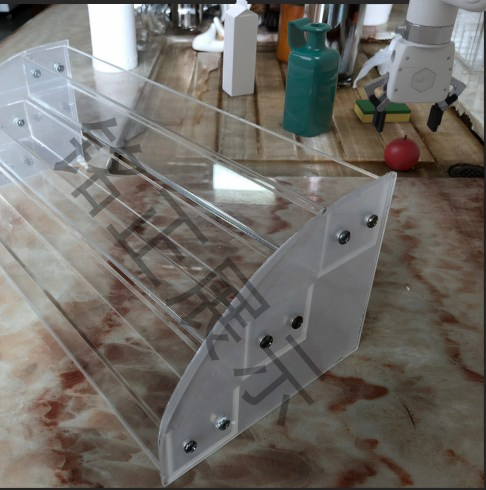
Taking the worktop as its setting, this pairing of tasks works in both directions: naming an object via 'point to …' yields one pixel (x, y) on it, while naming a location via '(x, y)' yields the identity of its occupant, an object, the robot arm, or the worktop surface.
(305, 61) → the pitcher
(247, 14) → the milk
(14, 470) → the worktop surface
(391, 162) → the apple
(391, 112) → the sponge
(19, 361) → the worktop surface
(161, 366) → the worktop surface
